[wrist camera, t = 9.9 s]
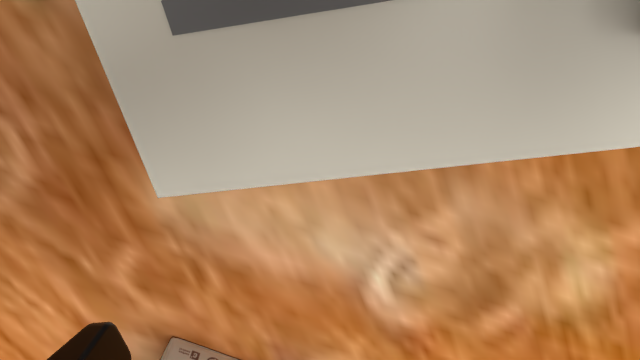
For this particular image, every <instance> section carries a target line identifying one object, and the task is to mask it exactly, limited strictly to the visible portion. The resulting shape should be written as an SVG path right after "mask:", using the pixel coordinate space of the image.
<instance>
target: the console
mask: <svg viewBox="0 0 640 360" xmlns="http://www.w3.org/2000/svg"><path fill="white" fill-rule="evenodd" d="M75 2H76V4H77V6H78V9H79V11H80V14H81V16H82V18H83V21H84V23H85V25H86V28H87V30H88V33H89V35H90V37H91V40H92V42H93V45H94V47H95V49H96V52H97V54H98V56H99V59H100V61H101V64H102V66H103V68H104V71H105V73H106V76H107V78H108V80H109V83H110V85H111V87H112V90H113V92H114V95H115V97H116V99H117V102H118V104H119V106H120V109H121V111H122V114H123V116H124V118H125V121H126V123H127V126H128V128H129V130H130V133H131V135H132V137H133V140H134V142H135V145H136V147H137V149H138V152H139V154H140V157H141V159H142V161H143V164H144V166H145V168H146V171H147V173H148V176H149V178H150V180H151V183H152V185H153V188H154V190H155V192H156V195H157V197H158V198H162V197H171V196H181V195H190V194H199V193H209V192H218V191H228V190H237V189H246V188H256V187H265V186H275V185H284V184H293V183H303V182H312V181H322V180H331V179H340V178H350V177H359V176H368V175H378V174H387V173H397V172H406V171H415V170H425V169H434V168H444V167H453V166H462V165H472V164H481V163H491V162H500V161H509V160H519V159H528V158H538V157H547V156H556V155H566V154H575V153H585V152H594V151H603V150H613V149H622V148H632V147H640V0H75Z"/></svg>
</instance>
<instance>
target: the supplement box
mask: <svg viewBox="0 0 640 360" xmlns="http://www.w3.org/2000/svg"><path fill="white" fill-rule="evenodd" d="M161 360H238V359H235V358H233V357H230V356H227V355H224V354H222V353H219V352H216V351H213V350H211V349H208V348H205V347H202V346H199V345H196V344H194V343H191V342H188V341H185V340H182V339H179V338H174V337H173V338H171V340H170V342H169V344H168V345H167V347H166V349H165V351H164V353H163V355H162V358H161Z"/></svg>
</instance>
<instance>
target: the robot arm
mask: <svg viewBox="0 0 640 360" xmlns="http://www.w3.org/2000/svg"><path fill="white" fill-rule="evenodd" d="M47 360H131V354H130V351H129V349H128V347H127V345H126V343H125V341H124V340H123V338H122V336H121V334H120V332H119V330H118V329H117V327H116V326H115V325H114V324H113V323H111V322H102V323H92V324H89V325H87V326H86V327H84V328H83V329H82V330H81V331H80V332H79V333H77V334H76V335H75V336H74V337H73V338H72V339H70V340H69V341H68V342H67V343H66V344H65V345H63V346H62V347H61V348H60V349H59V350H58V351H56V352H55V353H54V354H53V355H52V356H51V357H49V358H48V359H47Z"/></svg>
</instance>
